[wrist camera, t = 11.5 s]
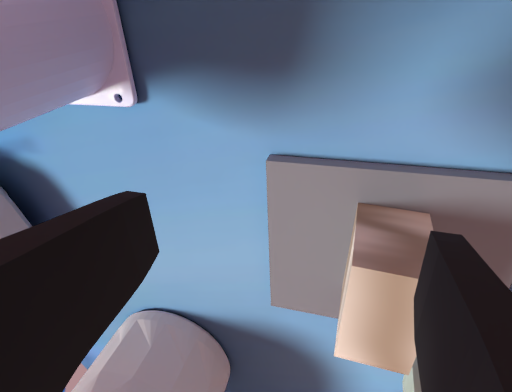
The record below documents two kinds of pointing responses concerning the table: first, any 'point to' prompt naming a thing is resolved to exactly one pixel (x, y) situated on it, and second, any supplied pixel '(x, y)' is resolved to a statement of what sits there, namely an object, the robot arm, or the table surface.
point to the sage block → (412, 379)
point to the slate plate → (374, 193)
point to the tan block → (382, 287)
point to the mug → (158, 358)
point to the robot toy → (10, 216)
